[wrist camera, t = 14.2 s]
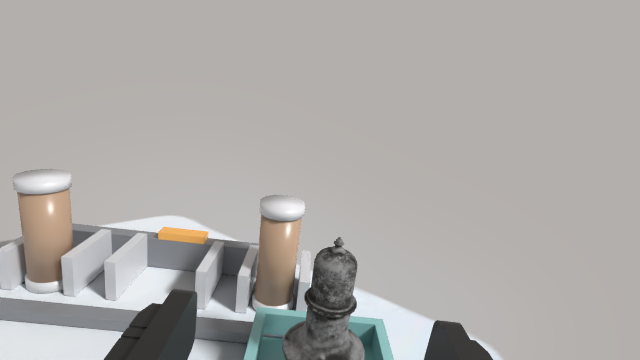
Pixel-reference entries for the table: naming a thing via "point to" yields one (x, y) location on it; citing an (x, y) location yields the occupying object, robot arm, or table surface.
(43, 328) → the table surface
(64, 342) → the table surface
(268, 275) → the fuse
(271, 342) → the tray
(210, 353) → the table surface
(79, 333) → the table surface
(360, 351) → the salt shaker
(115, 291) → the fuse rail
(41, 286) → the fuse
